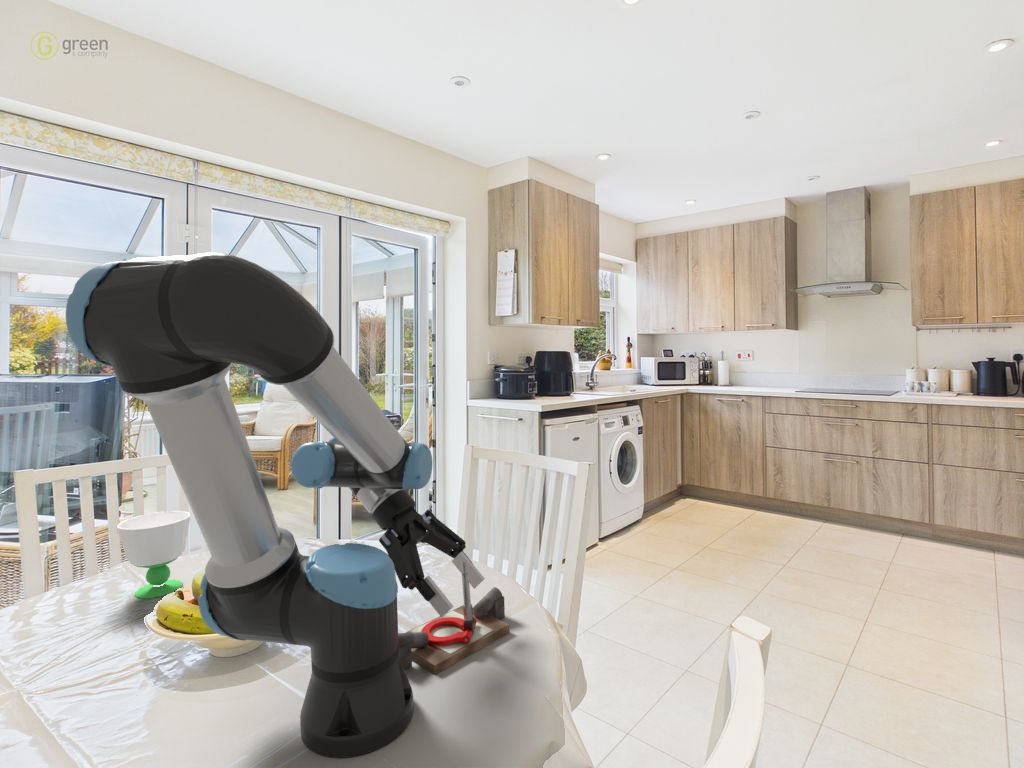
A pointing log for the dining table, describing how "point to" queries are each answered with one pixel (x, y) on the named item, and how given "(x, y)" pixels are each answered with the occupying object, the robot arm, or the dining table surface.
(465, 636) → the tow hook
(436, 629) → the shaft stand
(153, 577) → the cup
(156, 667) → the dining table surface
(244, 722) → the dining table surface
